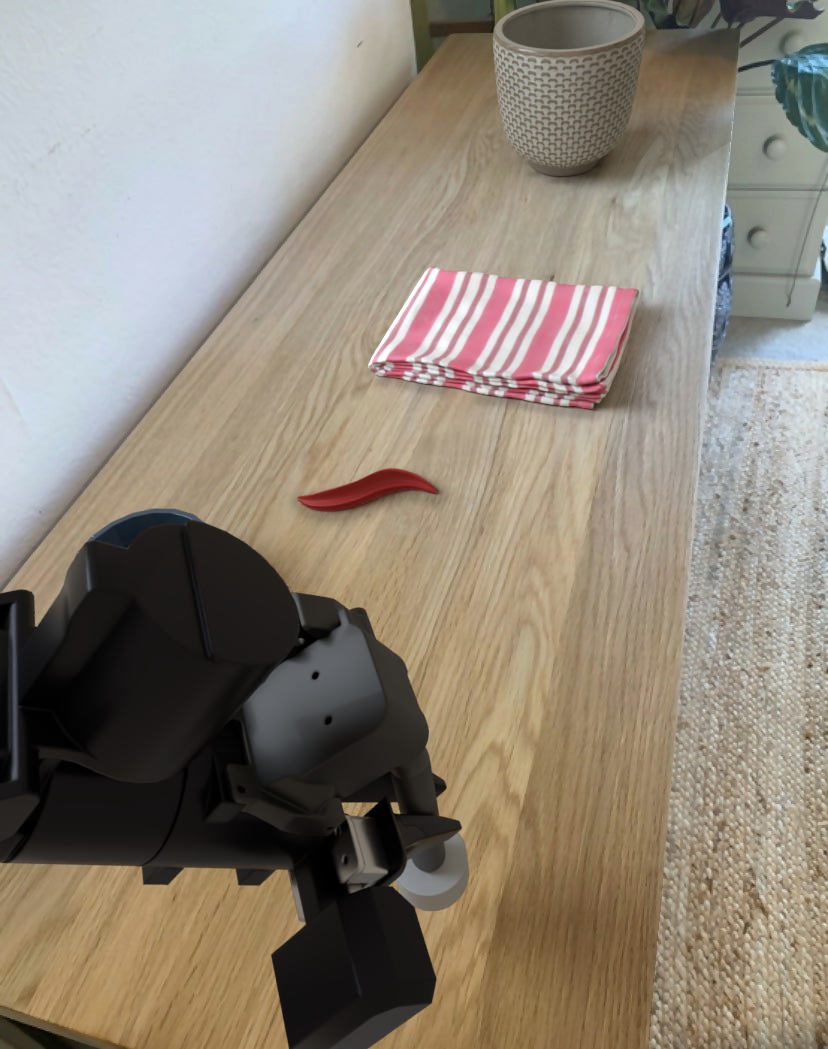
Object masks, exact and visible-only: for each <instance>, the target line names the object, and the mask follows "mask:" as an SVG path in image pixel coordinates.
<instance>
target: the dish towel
mask: <svg viewBox="0 0 828 1049" xmlns="http://www.w3.org/2000/svg"><path fill="white" fill-rule="evenodd" d="M639 296H640V290H639V289H638V288H622V287H619V286H614V285H610V286H609V285H601V284H598V285H597V284H596V285H589V284H588V285H587V284H567V283H560V282H557V281H552V280H551V281H548V280H543V279H533V278H532V279H527V278H512V277H506V276H500V275H497V274H492V273H491V274H490V273H484V272H478V271H462V270H459V271H458V270H446V269H442V268H440V267H439V266H430V267H429V268H428V269H426V270H425V272H424V273H423V275H422V277H421V278H420V280H419V281H418V282H417V284H416V286H415V287H414V289H413V290H412V292H411V293H410V295H409V297H408V298H407V299H406V301H405V303H404V305H403V307H402V308H401V309H400V311H399V312H398V315H396V317H395V319H394V321H393V322H392V324H391V325H390V327H389V328H388V330H387V332H386V333H385V334H384V337H383V338H382V340H381V342H380V343H379V345H378V346H377V348H376V349H375V351H374V353H373V354H372V357H371V358H370V361H369V362H368V365H367V367H368V369H369V370H370V371H371V372H372V373H373V374H374V375H375V376H379V377H389V378H396V379H401V380H405V381H408V382H415V383H419V384H424V385H433V386H438V387H449V388H456V389H459V390H463V391H466V392H470V393H471V392H472V393H478V394H480V395H485V396H494V397H498V398H510V399H511V398H513V399H518V400H523V401H527V402H532V403H540V404H545V405H551V406H560V407H578V408H582V409H586V410H588V409H589V410H593V409H594V408H595V404H600V403H601V402H602V400H603V398H606V397H607V394H608V392H610V389H611V386H612V384H613V381H614V378H615V377H616V375H617V372H618V370H619V367H620V365H621V361H622V357H623V354H624V351H625V348H626V345H627V343H628V340H629V338H630V337H629V336H630V333H631V330H632V325H633V321H634V317H635V314H636V308H637V303H638V299H639Z"/></svg>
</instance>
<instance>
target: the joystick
mask: <svg viewBox="0 0 828 1049" xmlns="http://www.w3.org/2000/svg"><path fill="white" fill-rule="evenodd" d="M432 769H433V768H432V763H431V756H430V753H429V751H428V748H427V746H426V747H425V749H424V750H423V752H422V753H421V754H420V755H419V756H418V757H417V758H415V759H414V760H413V761H411V762H409V763H408V764H406V765H401V766H398V767H396V768H394V769H392V770H391V771H390V774H391V778H392V782H393V786H394V790H395V794H396V798H397V802H398V803H397V806H398V811H399V814H413V815H431V816H440V810H439V805H438V799H437V798H438V797H437V798H436V792H435V786H434V780H433V774H432V773H433V770H432ZM469 879H470V865H469V856H468V851H467V846H466V843H465V840H464V839H463V837H462V836H461V834H460V833H459V832H458V833H457V834H455V835H454V836H453V837H452V838H450V839H449V840H447V841H445V842H443V843H441V844H439V845H437V846H435V847H433V848H431V849H429V850H427V851H425V852H423V853H421V854H419V855H417V856H415V857H413V858H411V859H409V860H407V864H406V867H405V870H404V872H403V873H402V875H401V876H400V877H399V878H398V879H397V880H395V883H396V887H397V890H398V892H399V893H400V894H401V895H402V896H403V897H404V898H405V899H406V900H407V901H409V902H410V903H411V904H412V905H413V906H414V907H415V909H418V910H421V911H424V912H438V911H443V910H446V909H447V908H450V907H451V906H453V905H454V904H456V903H457V902H458V901H459V900H460V899H461V897H462V896H463V895H464V893H465V892H466V889H467V887H468V885H469Z"/></svg>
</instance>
